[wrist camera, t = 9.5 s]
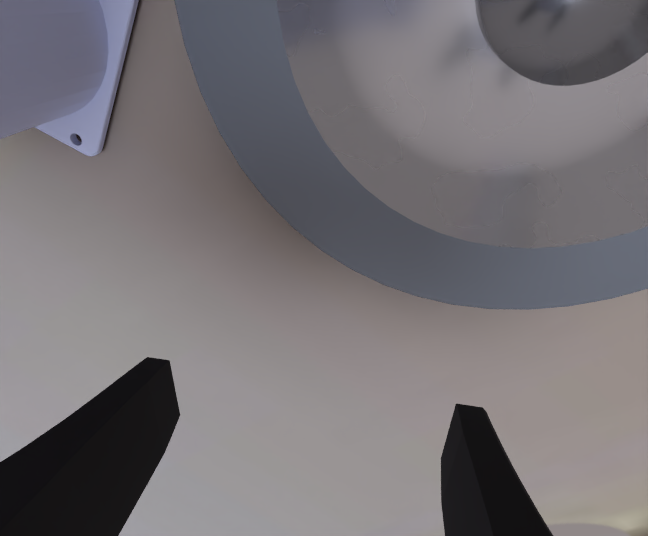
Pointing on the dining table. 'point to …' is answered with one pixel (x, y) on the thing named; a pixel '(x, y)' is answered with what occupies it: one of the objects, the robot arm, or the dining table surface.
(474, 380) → the dining table surface
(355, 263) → the grey round plate
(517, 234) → the light grey rounded piece
